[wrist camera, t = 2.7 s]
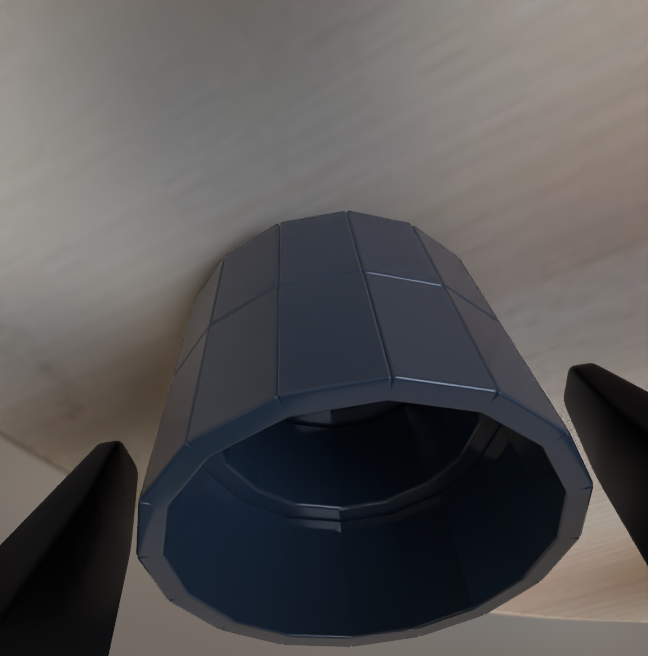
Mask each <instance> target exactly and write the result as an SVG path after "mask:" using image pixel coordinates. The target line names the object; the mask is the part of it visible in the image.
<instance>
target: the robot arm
mask: <svg viewBox="0 0 648 656" xmlns="http://www.w3.org/2000/svg"><path fill="white" fill-rule="evenodd" d="M564 402H565V406H566V409H567V411H568V414H569V416H570V418H571V421H572V423H573V425H574V427H575V430H576V432H577V434H578V437H579V439H580V441H581V443H582V446H583V448H584V450H585V453H586V455H587V457H588V459H589V462H590V464H591V466H592V468H593V470H594V473H595V475H596V477H597V479H598V480H599V482H600V484H601V486H602V488H603V489H604V491H605V493H606V495H607V496H608V498H609V500H610V502H611V503H612V505H613V507H614V508H615V510H616V512H617V514H618V515H619V517H620V519H621V521H622V522H623V524H624V526H625V527H626V529H627V531H628V533H629V534H630V536H631V538H632V540H633V541H634V543H635V545H636V546H637V548H638V550H639V552H640V553H641V555H642V557H643V559H644V560H645V562H646V564H647V565H648V392H647V391H645V390H643V389H642V388H640V387H638V386H636V385H634V384H632V383H630V382H628V381H626V380H625V379H623V378H621V377H619V376H617V375H615V374H613V373H611V372H609V371H608V370H606V369H604V368H602V367H600V366H598V365H596V364H593V363H586V364H580V365H574V366H572V367H571V368H570V369H569V371H568V376H567V382H566V388H565V393H564ZM137 482H138V471H137V467H136V465H135V463H134V461H133V459H132V458H131V456H130V454H129V453H128V451H127V449H126V448H125V446H124V444H123V443H122V442H120V441H111V442H105V443H101V444H99V445H97V446H96V447H95V448H94V449H93V450H92V451H91V452H90V453H89V454H88V455H87V456H86V457H85V458H84V459H83V460H82V461H81V462H80V463H79V464H78V466H77V467H76V468H75V469H74V470H73V471H72V472H71V473H70V474H69V475H68V476H67V477H66V478H65V479H64V480H63V481H62V482H61V483H60V484H59V485H58V486H57V487H56V488H55V489H54V490H53V491H52V492H51V493H50V495H48V497H47V498H46V499H45V500H44V501H43V502H42V503H41V504H40V505H39V506H38V507H37V508H36V509H35V510H34V511H33V512H32V513H31V514H30V515H29V516H28V517H27V518H26V519H25V520H24V521H23V522H22V523H21V524H20V526H18V528H17V529H16V530H15V531H14V532H13V533H12V534H11V535H10V536H9V537H8V538H7V539H6V540H5V541H4V542H3V543H2V544H1V545H0V656H108V655H109V650H110V645H111V640H112V636H113V631H114V627H115V622H116V617H117V612H118V608H119V603H120V598H121V593H122V589H123V583H124V579H125V574H126V570H127V565H128V560H129V555H130V549H131V542H132V533H133V523H134V512H135V502H136V492H137Z"/></svg>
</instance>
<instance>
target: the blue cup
mask: <svg viewBox="0 0 648 656" xmlns="http://www.w3.org/2000/svg"><path fill="white" fill-rule="evenodd" d="M592 489H593V482H592V479H591V477H590V475H589V473H588V471H587V469H586V466H585V464H584V462H583V460H582V458H581V456H580V454H579V452H578V449H577V447H576V445H575V443H574V441H573V439H572V437H571V434H570V432H569V431H568V429H567V428H566V426H565V424H564V423H563V421H562V420H561V418H560V416H559V415H558V413H557V412H556V410H555V409H554V407H553V405H552V404H551V402H550V401H549V399H548V397H547V396H546V394H545V393H544V391H543V390H542V388H541V386H540V385H539V383H538V382H537V380H536V378H535V377H534V375H533V374H532V372H531V371H530V369H529V367H528V366H527V364H526V363H525V361H524V359H523V358H522V356H521V355H520V353H519V352H518V350H517V348H516V347H515V345H514V344H513V342H512V340H511V339H510V337H509V336H508V334H507V333H506V331H505V329H504V328H503V327H502V325H501V323H500V321H499V320H498V318H497V317H496V315H495V314H494V312H493V310H492V309H491V307H490V306H489V304H488V302H487V301H486V299H485V298H484V296H483V295H482V293H481V291H480V290H479V288H478V287H477V285H476V283H475V282H474V280H473V279H472V277H471V276H470V274H469V272H468V271H467V269H466V268H465V266H464V264H463V263H462V261H461V260H460V259H459V258H458V257H457V256H456V255H455V254H453V253H452V252H450V251H449V250H448V249H446V248H445V247H443V246H442V245H441V244H439V243H438V242H436V241H435V240H434V239H432V238H431V237H429V236H428V235H427V234H425V233H424V232H422V231H421V230H420V229H418V228H417V227H415V226H411V224H410V223H407V222H402V221H397V220H392V219H387V218H382V217H377V216H372V215H367V214H362V213H357V212H352V211H347V212H344V211H342V212H337V213H331V214H325V215H320V216H314V217H309V218H303V219H298V220H292V221H286V222H282V223H280V225H279V224H276V225H274V226H273V227H271V228H270V229H268V230H266V231H265V232H263V233H262V234H260V235H258V236H257V237H255V238H254V239H252V240H250V241H249V242H247V243H246V244H244V245H242V246H241V247H239V248H238V249H236V250H234V251H233V252H231V253H230V254H228V255H226V257H225V258H223V259H222V260H221V262H220V263H219V265H218V266H217V268H216V269H215V271H214V272H213V274H212V275H211V277H210V278H209V280H208V281H207V283H206V284H205V286H204V287H203V289H202V290H201V292H200V293H199V295H198V296H197V298H196V299H195V301H194V303H193V306H192V309H191V313H190V316H189V320H188V324H187V327H186V331H185V334H184V338H183V342H182V345H181V349H180V353H179V356H178V360H177V364H176V367H175V371H174V374H173V378H172V382H171V385H170V389H169V392H168V396H167V399H166V403H165V407H164V410H163V414H162V418H161V421H160V425H159V429H158V432H157V436H156V439H155V443H154V447H153V450H152V454H151V458H150V461H149V465H148V468H147V472H146V476H145V479H144V483H143V487H142V490H141V494H140V498H139V501H138V526H137V551H136V553H137V556H138V559H139V560H140V562H141V563H142V565H143V566H144V568H145V569H146V570H147V572H148V573H149V575H150V576H151V578H152V579H153V580H154V582H155V583H156V585H157V586H158V587H159V589H160V590H161V592H162V593H163V594H164V596H165V597H166V599H169V601H170V602H172V603H173V604H175V605H177V606H179V607H180V608H182V609H184V610H186V611H187V612H189V613H191V614H193V615H195V616H196V617H198V618H200V619H202V620H203V621H205V622H207V623H209V624H211V625H212V626H214V627H216V628H218V629H221V630H224V631H228V632H232V633H236V634H240V635H244V636H249V637H253V638H257V639H261V640H265V641H269V642H274V643H278V644H285V645H309V646H342V647H343V646H344V647H350V646H360V645H367V644H374V643H380V642H387V641H394V640H401V639H408V638H414V637H418V636H423V635H426V634H429V633H432V632H435V631H438V630H441V629H444V628H447V627H450V626H453V625H455V624H459V623H462V622H465V621H468V620H471V619H473V618H477V617H480V616H482V615H483V614H487V613H489V612H490V611H492V610H494V609H495V608H497V607H499V606H500V605H502V604H504V603H505V602H507V601H509V600H510V599H512V598H514V597H515V596H517V595H519V594H520V593H522V592H524V591H525V590H527V589H529V588H531V587H532V586H534V585H536V584H537V583H539V581H541V580H542V579H543V578H544V577H545V576H546V575H547V574H548V573H549V572H550V570H551V569H552V568H553V567H554V566H555V565H556V564H557V563H558V562H559V560H560V559H561V558H562V557H563V556H564V555H565V554H566V553H567V552H568V550H569V549H570V548H571V547H572V546H573V545H574V544H575V543H576V542H577V540H578V539H579V537H580V536H581V533H582V529H583V525H584V521H585V517H586V513H587V509H588V505H589V501H590V497H591V493H592Z"/></svg>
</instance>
